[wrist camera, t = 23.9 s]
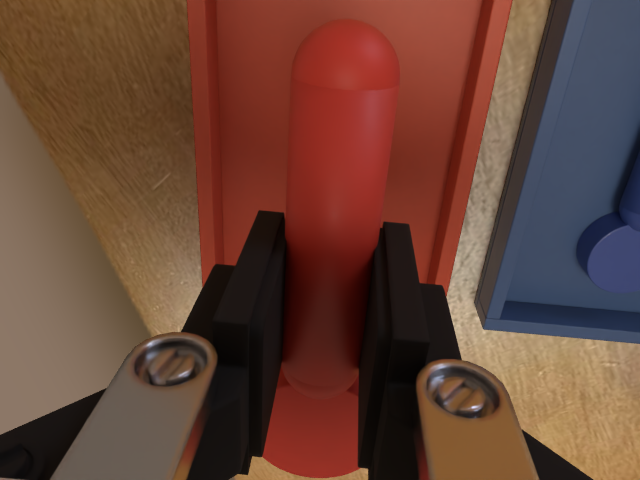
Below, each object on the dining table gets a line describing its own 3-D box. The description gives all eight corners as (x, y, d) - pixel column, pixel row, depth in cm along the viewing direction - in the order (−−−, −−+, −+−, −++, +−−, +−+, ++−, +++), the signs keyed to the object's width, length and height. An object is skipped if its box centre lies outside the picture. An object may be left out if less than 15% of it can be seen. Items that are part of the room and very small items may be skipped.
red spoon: (259, 6, 9) (237, 16, 7) (444, 21, 9) (462, 33, 7) (255, 433, 14) (242, 493, 12) (373, 445, 14) (374, 507, 12)
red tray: (198, -98, 17) (180, -105, 15) (513, -76, 16) (530, -80, 15) (213, 279, 24) (202, 304, 22) (434, 300, 24) (440, 326, 22)
